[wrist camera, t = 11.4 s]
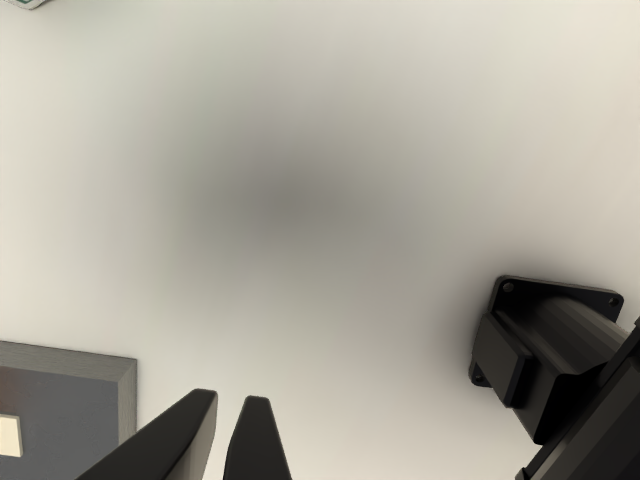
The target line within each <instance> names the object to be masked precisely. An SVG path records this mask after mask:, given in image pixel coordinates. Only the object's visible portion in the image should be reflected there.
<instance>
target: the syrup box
mask: <svg viewBox="0 0 640 480" xmlns="http://www.w3.org/2000/svg"><path fill="white" fill-rule="evenodd" d="M4 1H6V2H9V3H11V4H14V5H16V6H19V7H21V8H24V9H29V10H32V9H33V8H35V7H37V6H38V5H40V4H41V3H42V2H44V1H45V0H4Z"/></svg>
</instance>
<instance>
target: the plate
mask: <svg viewBox="0 0 640 480" xmlns="http://www.w3.org/2000/svg"><path fill="white" fill-rule="evenodd" d="M135 433H136V359H129V358H121V357H114V356H106V355H99V354H92V353H84V352H77V351H70V350H62V349H55V348H48V347H40V346H33V345H26V344H18V343H11V342H4V341H0V480H74V479H75V478H76V477H78V476H79V475H80V474H82V473H83V472H84V471H86V470H87V469H88V468H90V467H91V466H92V465H94V464H95V463H96V462H98V461H99V460H100V459H102V458H103V457H104V456H106V455H107V454H108V453H110V452H111V451H112V450H114V449H115V448H116V447H118V446H119V445H120V444H122V443H123V442H124V441H126V440H127V439H128V438H130V437H131V436H132V435H134V434H135Z"/></svg>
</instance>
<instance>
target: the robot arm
mask: <svg viewBox="0 0 640 480" xmlns="http://www.w3.org/2000/svg"><path fill="white" fill-rule="evenodd" d="M507 283H510V286H509V287H508V288H507V289H503V288H504V285H505V284H507ZM612 298H613V301H612V302H610V303H609V301H610V299H612ZM623 302H624V299H623V297H622V296H621V295H620V294H618V293H617V292H615V291H612V290H606V289H599V288H592V287H585V286H578V285H571V284H564V283H557V282H550V281H543V280H536V279H529V278H522V277H515V276H502V277H500V278H499V279H498V280H497V281H496V283H495V287H494V290H493V293H492V297H491V300H490V304H489V307H488V310H487V312H486V313H485V314H483V316H482V320H481V323H480V327H479V330H478V333H477V337H476V340H475V343H474V347H473V350H472V356H473V360H472V364H471V367H470V370H469V378H470V380H471V382H472V383H473V384H474V385H476V386H481V387H489V388H493V389H494V391H495V393H496V394H497V396H498V397H499V399H500V401H501V402H502V404H503V405H504V406H505V407H506V408H510V409H513V411H514V412H515V414H516V415H517V417H518V418H519V420H520V422H521V423H522V425H523V426H524V428H525V429H526V431H527V432H528V434H529V436H530V437H531V439H532V440H533V442H534V443H535V444H537V445H543V446H542V448H541V449H540V450H539V452H538V453H537V454H536V455H535V457H534V458H533V459H532V461H531V462H530V463H529V464H528V466H527V467H526V468H524V467H523V468H521V470H520V471H519V472H518V474H517V475H516V476H515V480H640V316H639V318H638V319H637V320H636V322H635V323H634V324H635V325H636V327H635V328H634V330H633V331H632V332H631V334H629V333H628V332H626V331H625V330H624V329H622V328H621V327H619V326H618V325H616V324H615V323H616V320H617V318H618V315H619V313H620V310H621V308H622V305H623ZM481 374H482V375H481ZM478 375H481V377H479V378H476V376H478ZM217 405H218V394H217V392H216V391H214V390H206V389H194V390H192V391H191V392H190V393H188V394H187V395H186V396H184V397H183V398H182V399H180V400H179V401H178V402H176V403H175V404H174V405H172V406H171V407H170V408H168V409H167V410H166V411H164V412H163V413H162V414H160V415H159V416H158V417H156V418H155V419H154V420H152V421H151V422H150V423H148V424H147V425H146V426H144V427H143V428H142V429H140V430H139V431H138V432H136V433H135V434H134V435H132V436H131V437H130V438H128V439H127V440H126V441H124V442H123V443H122V444H120V445H119V446H118V447H116V448H115V449H114V450H112V451H111V452H110V453H108V454H107V455H106V456H104V457H103V458H102V459H100V460H99V461H98V462H96V463H95V464H94V465H92V466H91V467H90V468H88V469H87V470H86V471H84V472H83V473H82V474H80V475H79V476H78V477H76V478H75V479H74V480H202V478H203V474H204V471H205V467H206V464H207V460H208V457H209V453H210V450H211V447H212V443H213V439H214V435H215V429H216V418H217ZM223 480H292V478H291V474H290V471H289V467H288V464H287V460H286V457H285V453H284V450H283V446H282V443H281V439H280V436H279V432H278V429H277V425H276V422H275V418H274V415H273V411H272V408H271V404H270V401H269V399H268V398H266V397H259V396H251V395H249V396H247V397H246V399H245V401H244V404H243V407H242V410H241V412H240V415H239V418H238V421H237V424H236V426H235V429H234V432H233V435H232V437H231V440H230V444H229V447H228V451H227V456H226V462H225V468H224V475H223Z"/></svg>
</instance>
